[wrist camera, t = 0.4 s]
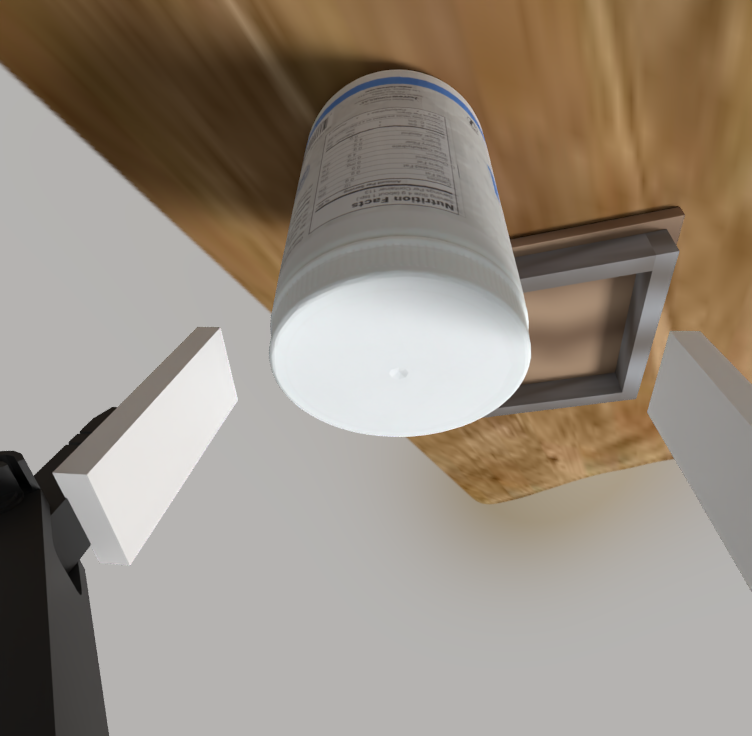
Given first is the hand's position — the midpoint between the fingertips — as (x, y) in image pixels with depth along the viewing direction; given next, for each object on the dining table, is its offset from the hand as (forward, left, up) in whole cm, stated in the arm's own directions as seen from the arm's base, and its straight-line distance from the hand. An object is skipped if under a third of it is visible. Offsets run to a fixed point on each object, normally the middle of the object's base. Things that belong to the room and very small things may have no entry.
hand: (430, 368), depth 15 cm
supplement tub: (+2, -1, -16) cm, 16 cm away
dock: (+17, +6, -16) cm, 24 cm away
